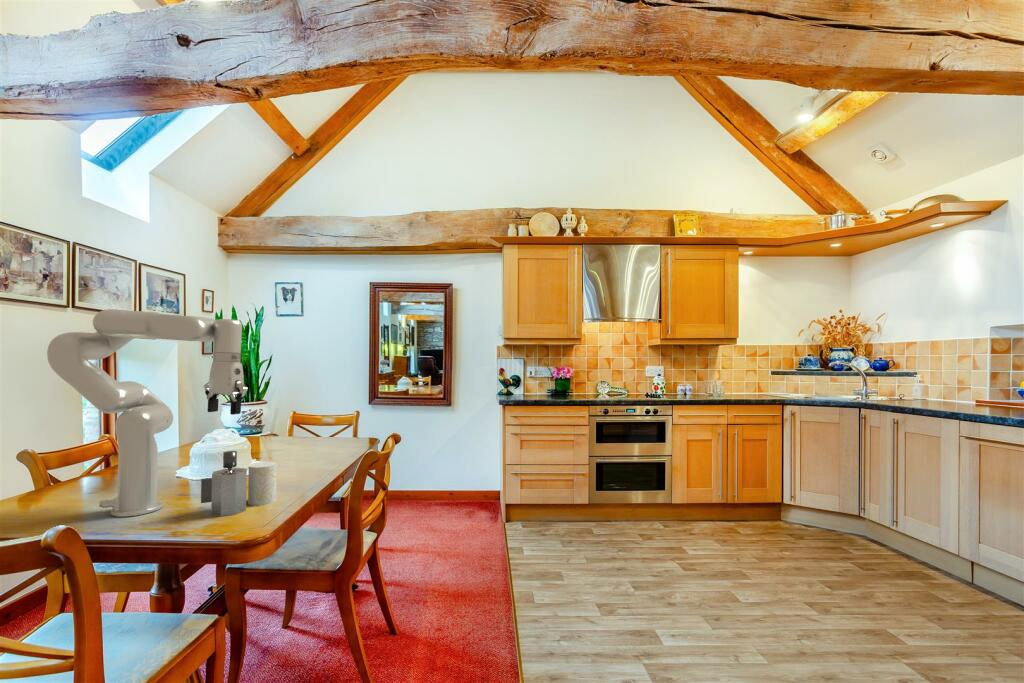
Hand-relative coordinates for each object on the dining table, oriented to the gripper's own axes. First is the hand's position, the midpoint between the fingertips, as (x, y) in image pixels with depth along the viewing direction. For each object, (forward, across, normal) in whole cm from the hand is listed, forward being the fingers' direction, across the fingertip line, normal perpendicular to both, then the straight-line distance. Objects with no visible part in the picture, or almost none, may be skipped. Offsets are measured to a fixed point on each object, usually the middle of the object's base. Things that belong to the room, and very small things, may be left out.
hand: (224, 412), depth 152 cm
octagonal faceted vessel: (+29, -5, +2) cm, 30 cm away
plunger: (+28, -6, +1) cm, 29 cm away
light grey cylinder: (+29, -8, -9) cm, 32 cm away
